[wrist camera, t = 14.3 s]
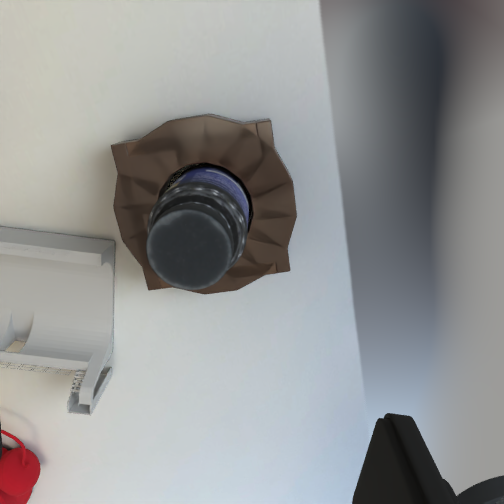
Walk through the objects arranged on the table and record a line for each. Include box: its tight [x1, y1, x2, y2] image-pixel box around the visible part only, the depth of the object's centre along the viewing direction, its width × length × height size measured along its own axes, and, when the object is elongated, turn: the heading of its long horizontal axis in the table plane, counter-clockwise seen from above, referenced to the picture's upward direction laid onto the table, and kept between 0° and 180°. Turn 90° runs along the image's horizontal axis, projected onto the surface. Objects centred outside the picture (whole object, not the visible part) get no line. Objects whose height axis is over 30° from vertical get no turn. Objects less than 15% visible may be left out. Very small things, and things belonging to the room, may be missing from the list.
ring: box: [111, 114, 297, 294], centre depth 31 cm, size 13×13×3 cm
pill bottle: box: [146, 164, 249, 290], centre depth 27 cm, size 6×6×11 cm
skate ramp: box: [0, 226, 115, 416], centre depth 33 cm, size 15×13×5 cm
